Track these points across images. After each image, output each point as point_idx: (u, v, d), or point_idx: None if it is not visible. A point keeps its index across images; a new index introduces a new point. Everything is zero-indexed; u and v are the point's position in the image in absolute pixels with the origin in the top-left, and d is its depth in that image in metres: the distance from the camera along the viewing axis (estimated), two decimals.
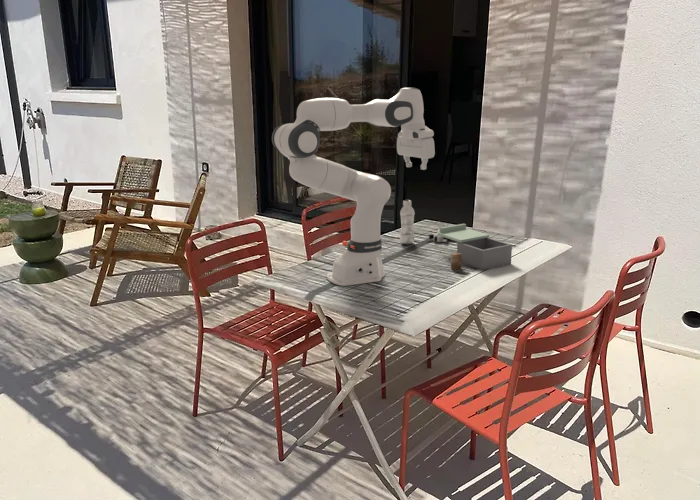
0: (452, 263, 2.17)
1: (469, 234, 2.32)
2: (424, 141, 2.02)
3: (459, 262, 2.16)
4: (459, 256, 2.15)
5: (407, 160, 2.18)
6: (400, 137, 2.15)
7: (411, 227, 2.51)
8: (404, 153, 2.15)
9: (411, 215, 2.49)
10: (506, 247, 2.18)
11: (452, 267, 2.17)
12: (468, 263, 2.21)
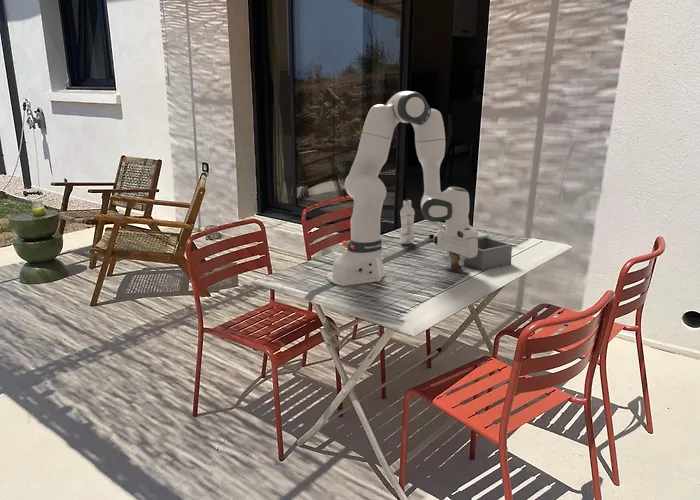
0: (452, 263, 2.17)
1: None
2: (468, 241, 2.06)
3: None
4: (459, 256, 2.15)
5: (450, 255, 2.20)
6: (442, 231, 2.19)
7: (411, 227, 2.51)
8: (445, 247, 2.19)
9: (411, 215, 2.49)
10: (506, 247, 2.18)
11: (452, 267, 2.17)
12: (468, 263, 2.21)
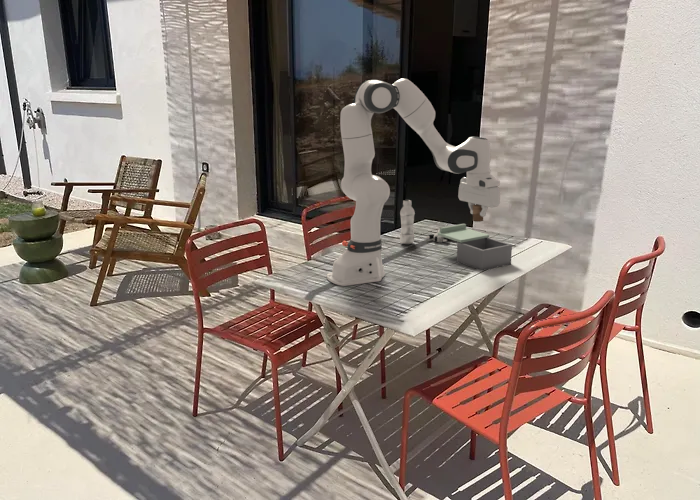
0: (474, 214, 2.15)
1: (469, 234, 2.32)
2: (491, 190, 2.05)
3: None
4: None
5: (472, 207, 2.18)
6: (463, 183, 2.18)
7: (411, 227, 2.51)
8: (466, 199, 2.18)
9: (411, 215, 2.49)
10: (506, 247, 2.18)
11: (473, 219, 2.16)
12: (468, 263, 2.21)
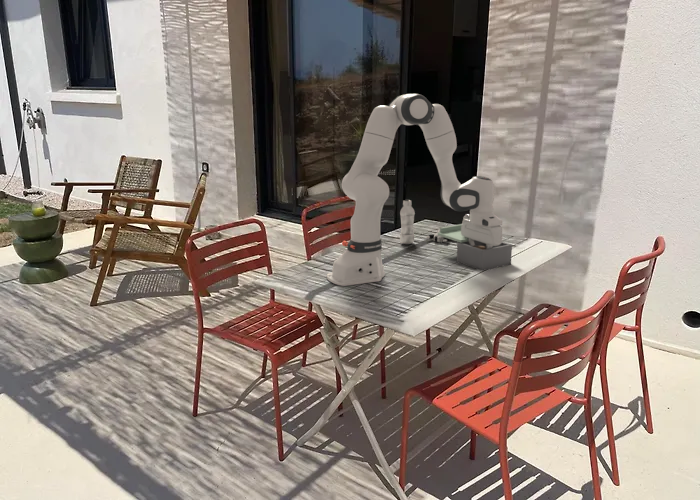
0: None
1: None
2: (493, 229, 2.10)
3: None
4: (483, 249, 2.20)
5: (471, 243, 2.25)
6: (466, 220, 2.23)
7: (411, 227, 2.51)
8: (469, 236, 2.23)
9: (411, 215, 2.49)
10: (506, 247, 2.18)
11: None
12: (468, 263, 2.21)
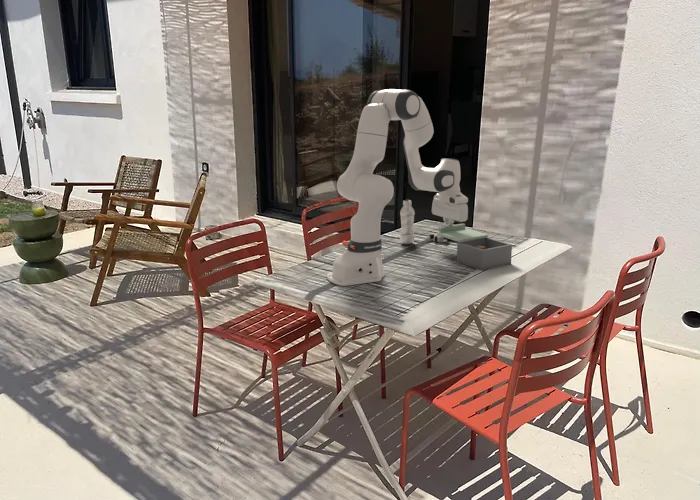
0: None
1: (468, 234, 2.32)
2: (459, 206, 2.29)
3: None
4: (483, 249, 2.20)
5: (446, 221, 2.41)
6: (436, 199, 2.42)
7: (411, 227, 2.51)
8: (438, 214, 2.42)
9: (411, 215, 2.49)
10: (506, 247, 2.18)
11: None
12: (468, 263, 2.21)
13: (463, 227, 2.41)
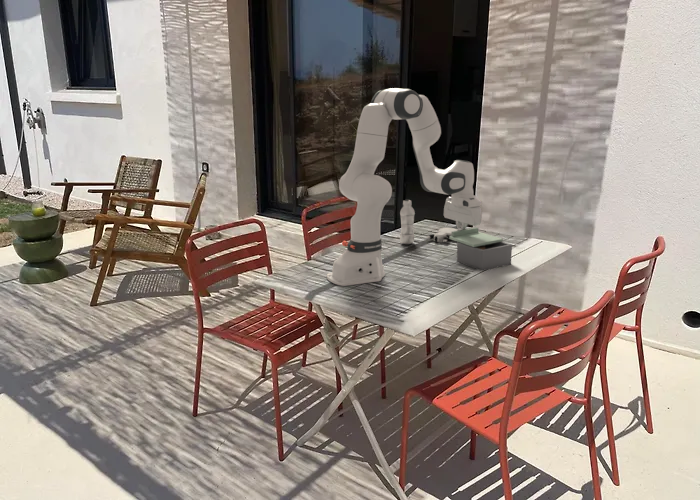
0: None
1: (482, 238, 2.25)
2: (473, 210, 2.22)
3: None
4: (483, 249, 2.20)
5: (459, 225, 2.34)
6: (448, 202, 2.35)
7: (411, 227, 2.51)
8: (451, 217, 2.35)
9: (411, 215, 2.49)
10: (506, 247, 2.18)
11: None
12: (468, 263, 2.21)
13: (476, 231, 2.34)
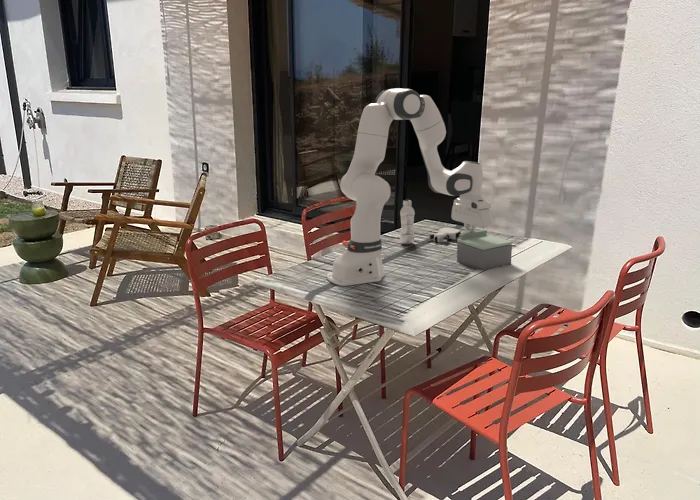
0: None
1: (491, 241, 2.21)
2: (482, 212, 2.18)
3: None
4: None
5: (467, 227, 2.30)
6: (456, 204, 2.31)
7: (411, 227, 2.51)
8: (459, 219, 2.31)
9: (411, 215, 2.49)
10: (506, 247, 2.18)
11: None
12: (468, 263, 2.21)
13: (485, 233, 2.29)
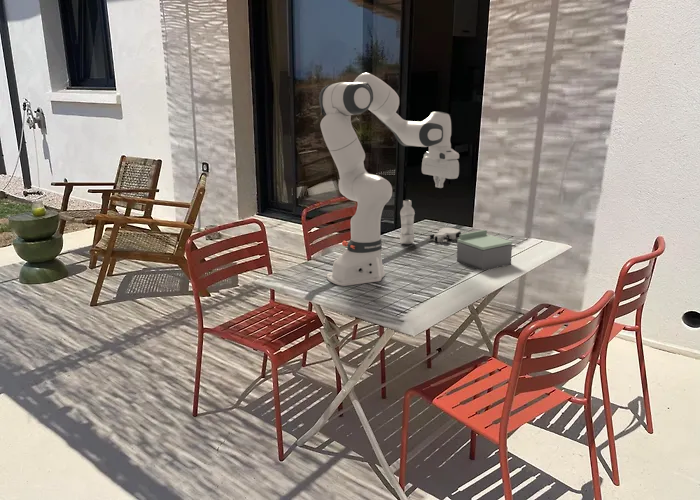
0: None
1: (491, 241, 2.21)
2: (450, 162, 2.16)
3: None
4: None
5: (436, 180, 2.28)
6: (426, 157, 2.29)
7: (411, 227, 2.51)
8: (428, 172, 2.29)
9: (411, 215, 2.49)
10: (506, 247, 2.18)
11: None
12: (468, 263, 2.21)
13: (484, 233, 2.29)
